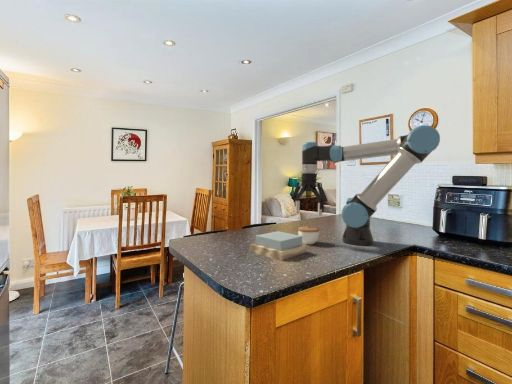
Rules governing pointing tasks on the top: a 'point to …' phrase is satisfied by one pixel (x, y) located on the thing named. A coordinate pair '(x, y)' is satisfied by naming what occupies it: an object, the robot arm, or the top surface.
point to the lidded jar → (308, 234)
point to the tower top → (278, 240)
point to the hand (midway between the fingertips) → (308, 214)
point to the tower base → (276, 253)
